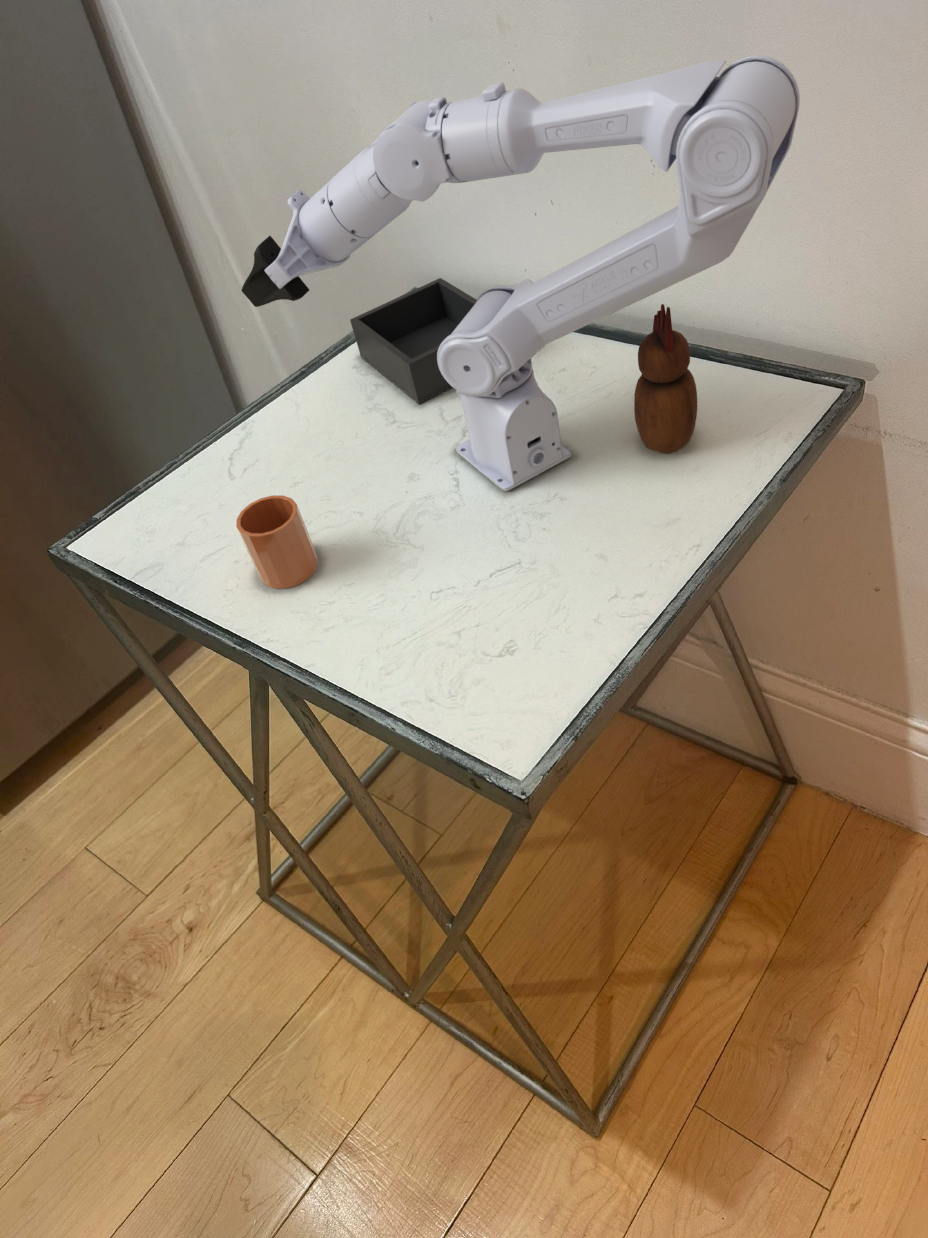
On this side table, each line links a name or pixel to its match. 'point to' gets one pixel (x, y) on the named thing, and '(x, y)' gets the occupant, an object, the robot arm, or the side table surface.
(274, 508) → the pot
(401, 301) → the dark grey storage bin
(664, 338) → the wooden figurine
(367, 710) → the side table surface
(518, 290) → the robot arm
